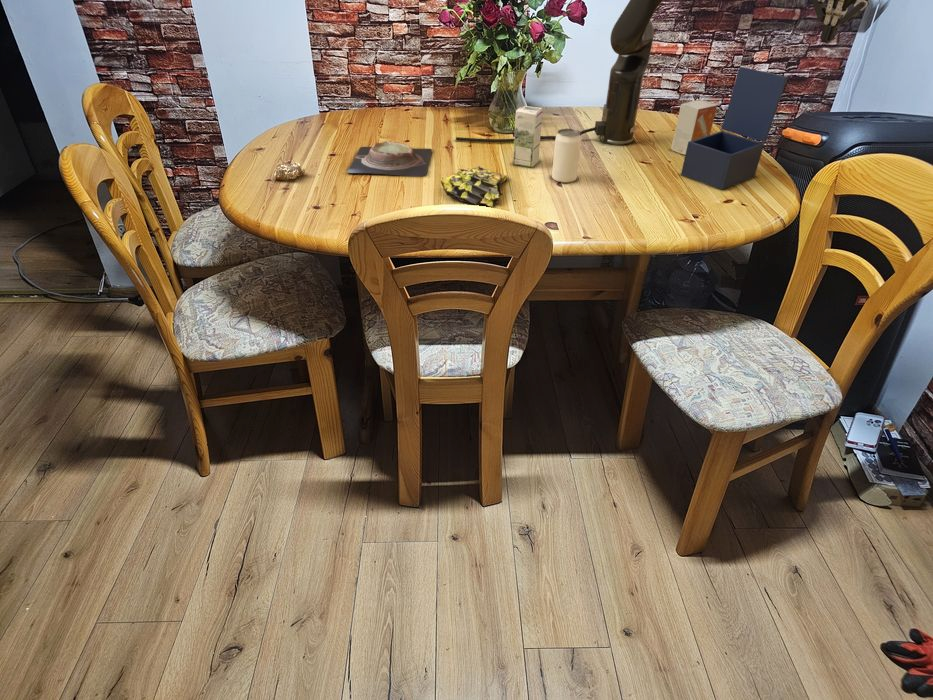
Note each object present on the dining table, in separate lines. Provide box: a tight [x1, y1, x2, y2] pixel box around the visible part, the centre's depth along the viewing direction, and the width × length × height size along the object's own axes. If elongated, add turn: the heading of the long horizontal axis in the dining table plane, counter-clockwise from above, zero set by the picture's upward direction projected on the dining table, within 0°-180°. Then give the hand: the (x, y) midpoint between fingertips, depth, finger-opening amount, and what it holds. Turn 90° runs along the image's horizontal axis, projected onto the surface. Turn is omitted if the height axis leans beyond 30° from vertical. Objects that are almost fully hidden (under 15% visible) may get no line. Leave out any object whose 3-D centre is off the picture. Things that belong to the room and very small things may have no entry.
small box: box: [670, 99, 718, 156], centre depth 175 cm, size 8×6×13 cm
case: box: [680, 130, 765, 191], centre depth 161 cm, size 15×13×9 cm
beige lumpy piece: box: [273, 162, 306, 181], centre depth 159 cm, size 8×7×4 cm
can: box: [551, 128, 582, 184], centre depth 158 cm, size 6×6×12 cm
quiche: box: [346, 140, 433, 177], centre depth 169 cm, size 21×20×4 cm
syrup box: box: [512, 105, 543, 168], centre depth 166 cm, size 6×6×14 cm
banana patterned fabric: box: [440, 165, 509, 208], centre depth 155 cm, size 20×16×7 cm
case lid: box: [721, 66, 789, 143], centre depth 158 cm, size 15×13×1 cm
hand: (825, 42), depth 149 cm, fingers closed
